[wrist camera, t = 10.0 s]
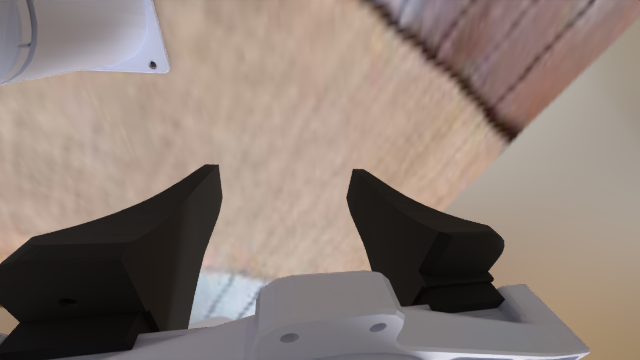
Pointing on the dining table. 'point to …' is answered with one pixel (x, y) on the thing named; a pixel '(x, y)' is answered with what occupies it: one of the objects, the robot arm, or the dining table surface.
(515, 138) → the dining table surface
